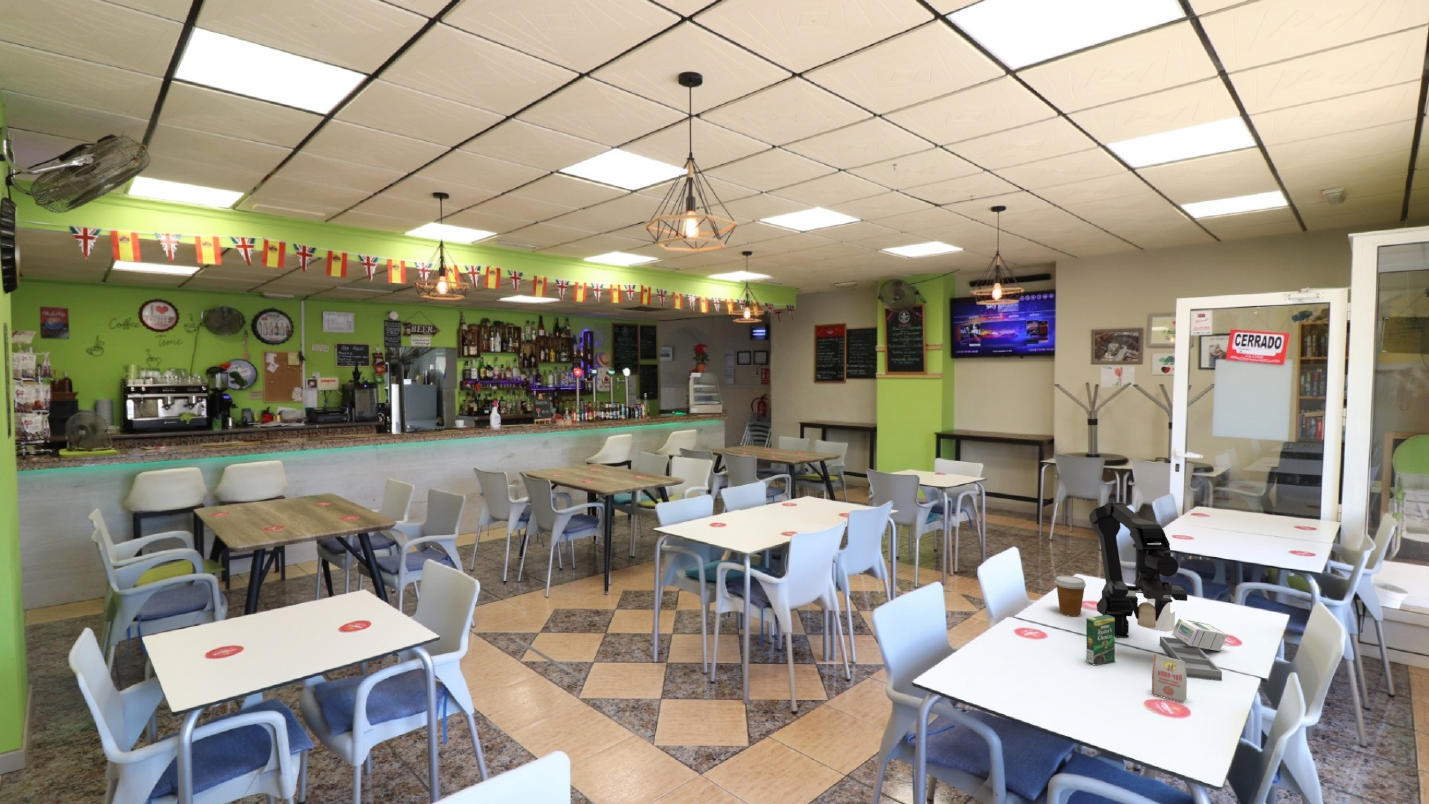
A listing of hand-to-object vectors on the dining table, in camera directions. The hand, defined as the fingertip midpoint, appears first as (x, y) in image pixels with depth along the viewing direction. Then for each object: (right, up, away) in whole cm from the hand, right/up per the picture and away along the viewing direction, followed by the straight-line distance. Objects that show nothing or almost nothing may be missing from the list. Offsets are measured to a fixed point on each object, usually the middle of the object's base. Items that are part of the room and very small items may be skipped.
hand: (1146, 619), depth 196 cm
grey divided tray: (+10, -11, -3) cm, 15 cm away
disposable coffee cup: (-3, -10, +37) cm, 39 cm away
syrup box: (+25, -8, +6) cm, 26 cm away
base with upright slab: (+19, -10, +24) cm, 33 cm away
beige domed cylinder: (0, -2, 0) cm, 2 cm away
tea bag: (-10, -12, -24) cm, 28 cm away
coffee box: (-15, -12, -3) cm, 19 cm away
